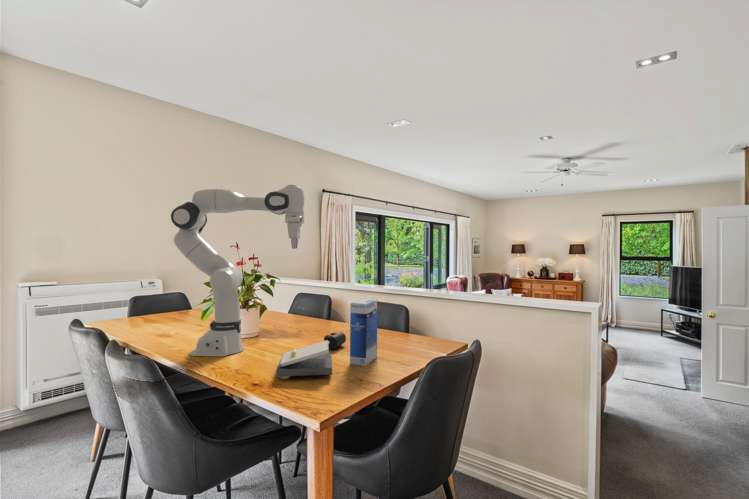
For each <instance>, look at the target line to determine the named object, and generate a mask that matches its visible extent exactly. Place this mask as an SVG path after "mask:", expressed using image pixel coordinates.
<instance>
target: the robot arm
mask: <svg viewBox="0 0 749 499" xmlns="http://www.w3.org/2000/svg"><path fill="white" fill-rule="evenodd" d="M191 198H192V201H186V202H184V203H183V204H180V205H179V206H176V207H175V208H174V209H173V210H172V211H171V214H170V219H171V223H173V225H174V226H175V227H176V228H179V230H178V232H177V233H175V235H174V237H173V243H174V245H175V246H176V248H177V249H178V250H179V251H180V253H181V254H183V256H184V257H185V258H186V259H187V260H188V261H189V262H190V263H191V264H192V265H194V266H195V267H196V268H197V269H198V270H199V271H200V272H203V273H204V274H205V275H207V276H209V277H210V278H209V285H210V287H211V291H212V292H211V294H212V299H213V304H214V320H212V321H211V322H210V324H209V330H208V331H207V332H205V333H204V334H203V335H202V336H200V337H199V338H198V340H197V341H196V342H197V343H196V347H194V348H193V349H192V350H191V352H190V356H192V357H222V358H223V357H226V356H230V355H234V354H237V353H241V352H242V351H244V350H245V349H244V345H243V341H242V334H241V333H242V319H241V302H240V299H239V293H238V288H239V287H240V286H241V285H242V283H243V280H244V274H243V272H242V271H241V270H240V268H238V267H237V266H235V265H234V264H233V263H231V262H230V261H229V260H228V259H227V258H225V257H223V256H222V255H221V254H220V253H218V251H217V250H216V249H215V248H213V247H212V246H211V245H210V244H209V243H208V242H207V241H206V240H205V239H204V238H203V237H202V236H201V235H200V234H201V233H202V231H203V229H204V228H205V226H206V225H207V222H208V216H207V215H208V214H212V213H213V214H214V213H215V214H225V213H226V214H229V213H234V212H235V213H236V212H242V211H266V212H271V213H272V214H275V215H277V216H278V215H279V216H280V215H281V216H282V215H284V222H285V223H286V224H287V235H288V238H289V239H290V241H291V249H293V250H294V249H298V243H299V240H300V239H301V228H302V224H305V211H304V207H305V194H304V190H303V189H302V187H300V186H298V185H294V184H288V185H286V186H284V187H282V188H280V189H278V190H275V191H270V192H268V193H267V194H266V195H265V197H259V196H258V197H254V196H246V195H244V194H241V193H239V192H236V191H235V190H234V191H233V190H230V189H223V188H220V189H219V188H207V189H200V190H197V191H195V192H194V193H193V194H192V197H191Z"/></svg>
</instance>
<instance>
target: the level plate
mask: <svg viewBox="0 0 749 499" xmlns="http://www.w3.org/2000/svg"><path fill="white" fill-rule="evenodd" d="M323 354H330V350H329V341H328V340H327V341H325V340H323V341H320V342H316V343H313V344H310V345H307V346H303V347H301V348H296V347H295V348H293V349H292V350H290V351H289V350H288V351H287V352H283V353H282V354H281V358H280V359H281V360H279V362H278V364H279V365H277V367H283V366H286V365H289V364H293V363H296V362H299V361H303V360H306V359H309V358H313V357H316V356H320V355H323Z"/></svg>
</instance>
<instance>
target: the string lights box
mask: <svg viewBox="0 0 749 499" xmlns="http://www.w3.org/2000/svg"><path fill="white" fill-rule="evenodd" d="M349 308H350V309H349V312H350V313H349V314H350V315H349V316H350V317H349V320H350V325H349V327H350V330H349V335H350V336H349V341H350V342H349V346H350V347H349V364H350V365H355V366H356V365H357V366H363V367H366V366H367V365H369V364H370V363H371V362H373V361H374V360H375V359H377V358H378V299H374V298H372V299H371V298H360V299H358V300H355V301H352V302H350V307H349Z"/></svg>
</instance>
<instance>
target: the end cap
mask: <svg viewBox="0 0 749 499" xmlns="http://www.w3.org/2000/svg"><path fill="white" fill-rule="evenodd" d="M327 340H328V343H329V351H334V350H336V349H337V348H339V347H341V346H342V345H344V344H345V342H346V341H347V337H346V334H345V333H343V332H342V331H339V332H331V333H329V334H327V335H324V336H323V341H327Z"/></svg>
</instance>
